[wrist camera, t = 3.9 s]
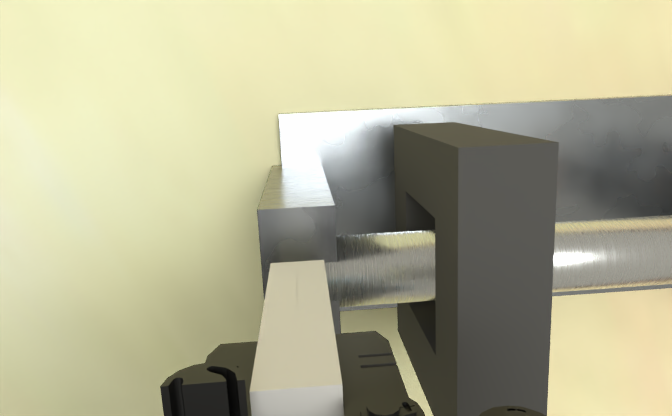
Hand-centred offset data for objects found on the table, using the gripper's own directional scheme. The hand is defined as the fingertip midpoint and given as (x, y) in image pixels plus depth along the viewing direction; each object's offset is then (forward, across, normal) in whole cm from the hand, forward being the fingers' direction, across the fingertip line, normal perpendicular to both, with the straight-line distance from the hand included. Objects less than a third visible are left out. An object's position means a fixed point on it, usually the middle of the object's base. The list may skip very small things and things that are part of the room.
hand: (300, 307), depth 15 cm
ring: (+8, +5, 0) cm, 9 cm away
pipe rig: (+12, +10, 0) cm, 16 cm away
